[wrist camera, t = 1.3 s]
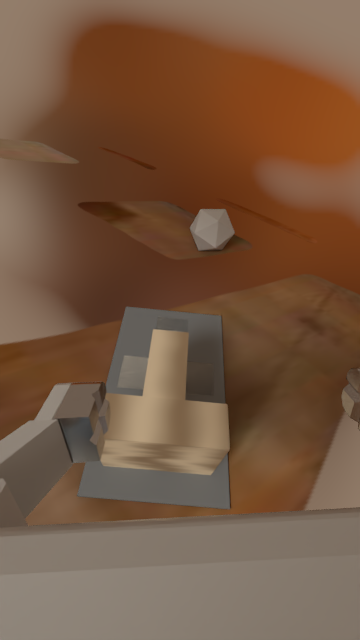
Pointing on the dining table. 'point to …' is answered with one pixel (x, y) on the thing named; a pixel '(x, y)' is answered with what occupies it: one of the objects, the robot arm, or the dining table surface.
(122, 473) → the t mat
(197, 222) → the die
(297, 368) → the dining table surface
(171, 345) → the t block
